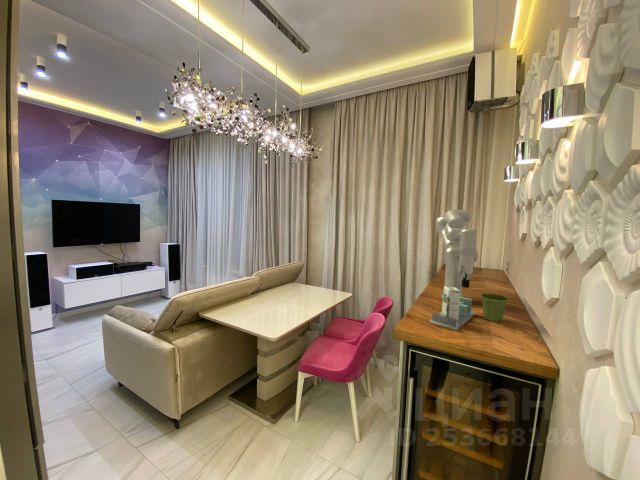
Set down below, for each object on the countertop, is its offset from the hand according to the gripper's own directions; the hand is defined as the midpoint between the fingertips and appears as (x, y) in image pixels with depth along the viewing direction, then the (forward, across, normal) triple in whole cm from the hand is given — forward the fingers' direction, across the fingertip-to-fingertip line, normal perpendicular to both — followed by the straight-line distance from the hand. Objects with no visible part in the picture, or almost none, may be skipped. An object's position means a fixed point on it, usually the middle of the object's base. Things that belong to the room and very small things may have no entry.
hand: (465, 287), depth 140 cm
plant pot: (+13, +2, +14) cm, 19 cm away
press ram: (+11, +8, 0) cm, 14 cm away
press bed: (+13, +15, -1) cm, 20 cm away
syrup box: (+12, +20, 0) cm, 23 cm away
